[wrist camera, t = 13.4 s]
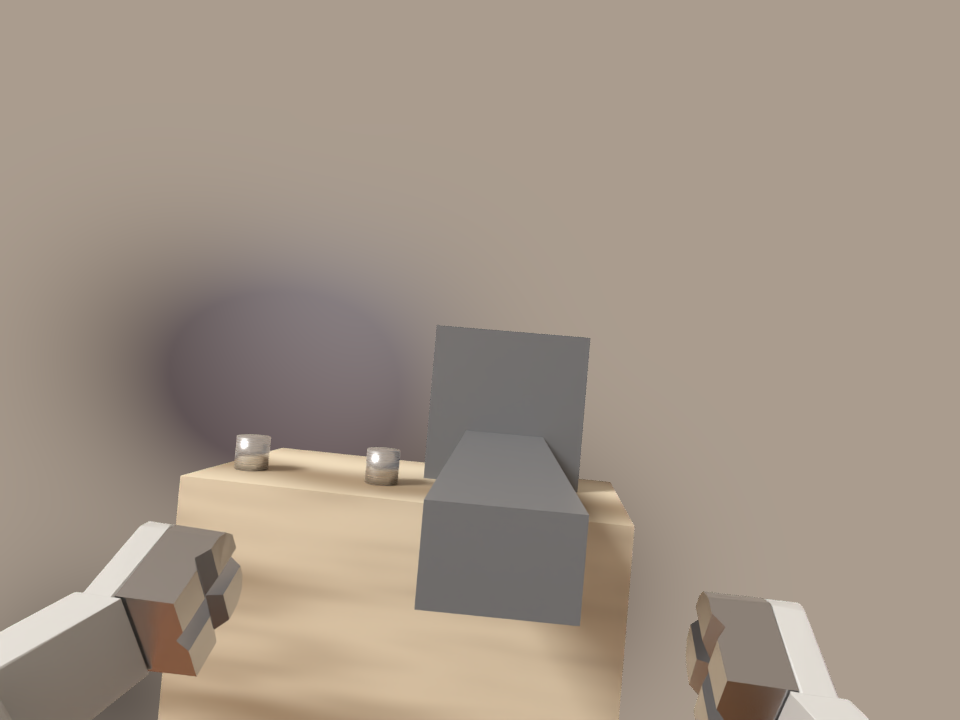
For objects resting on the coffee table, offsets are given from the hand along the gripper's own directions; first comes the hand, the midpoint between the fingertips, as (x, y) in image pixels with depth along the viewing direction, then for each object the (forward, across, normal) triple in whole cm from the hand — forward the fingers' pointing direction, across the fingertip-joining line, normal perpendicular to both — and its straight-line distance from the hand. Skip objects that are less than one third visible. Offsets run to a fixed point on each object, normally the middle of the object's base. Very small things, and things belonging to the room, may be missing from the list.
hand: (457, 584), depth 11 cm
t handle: (+7, 0, +5) cm, 8 cm away
